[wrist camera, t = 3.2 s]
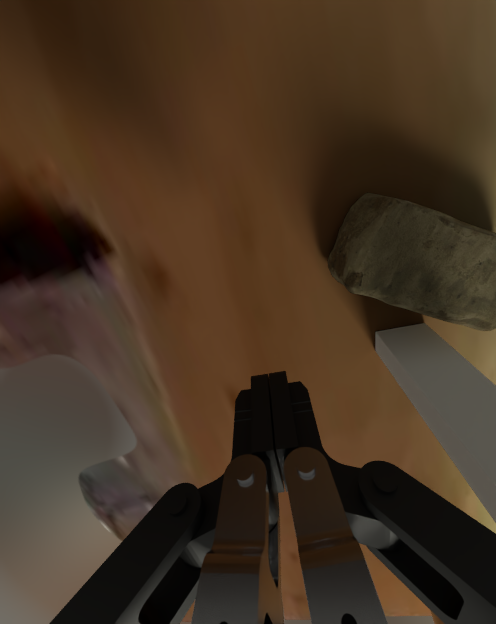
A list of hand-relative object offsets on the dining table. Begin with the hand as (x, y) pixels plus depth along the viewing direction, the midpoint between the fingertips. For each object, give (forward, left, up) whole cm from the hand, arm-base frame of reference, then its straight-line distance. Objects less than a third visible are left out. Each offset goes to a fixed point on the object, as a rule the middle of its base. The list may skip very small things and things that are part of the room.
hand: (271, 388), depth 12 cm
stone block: (+11, +1, -11) cm, 16 cm away
